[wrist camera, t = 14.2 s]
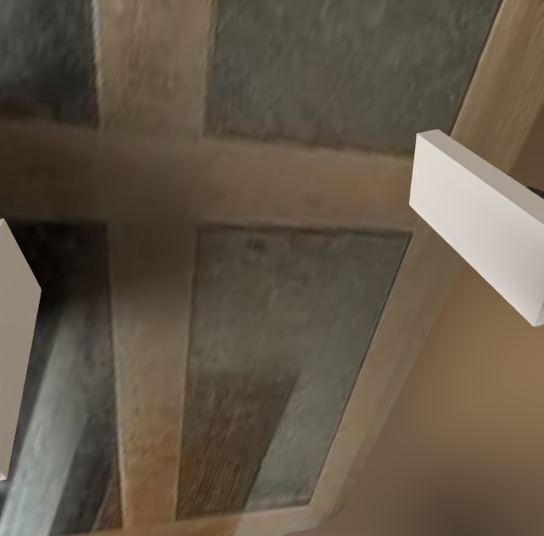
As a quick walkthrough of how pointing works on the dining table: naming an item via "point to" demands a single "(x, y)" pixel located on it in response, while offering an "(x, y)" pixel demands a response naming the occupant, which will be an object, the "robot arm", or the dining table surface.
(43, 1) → the dining table surface
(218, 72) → the dining table surface
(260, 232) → the dining table surface
